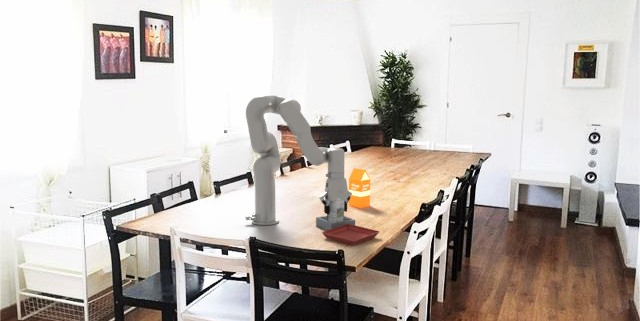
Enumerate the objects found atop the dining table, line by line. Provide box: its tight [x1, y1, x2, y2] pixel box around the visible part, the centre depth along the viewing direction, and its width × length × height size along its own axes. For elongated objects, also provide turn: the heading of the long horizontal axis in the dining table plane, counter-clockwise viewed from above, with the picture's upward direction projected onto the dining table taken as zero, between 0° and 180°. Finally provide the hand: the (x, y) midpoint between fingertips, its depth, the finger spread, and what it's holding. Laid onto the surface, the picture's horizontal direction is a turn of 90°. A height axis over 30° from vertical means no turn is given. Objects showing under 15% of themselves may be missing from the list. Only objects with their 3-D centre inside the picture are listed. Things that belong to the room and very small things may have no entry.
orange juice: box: [348, 167, 371, 209], centre depth 291 cm, size 8×9×20 cm
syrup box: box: [326, 198, 345, 223], centre depth 248 cm, size 6×6×14 cm
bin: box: [315, 215, 356, 231], centre depth 249 cm, size 13×13×4 cm
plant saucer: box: [321, 224, 380, 246], centre depth 232 cm, size 18×18×3 cm
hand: (335, 212), depth 248 cm, fingers open, 9 cm apart
